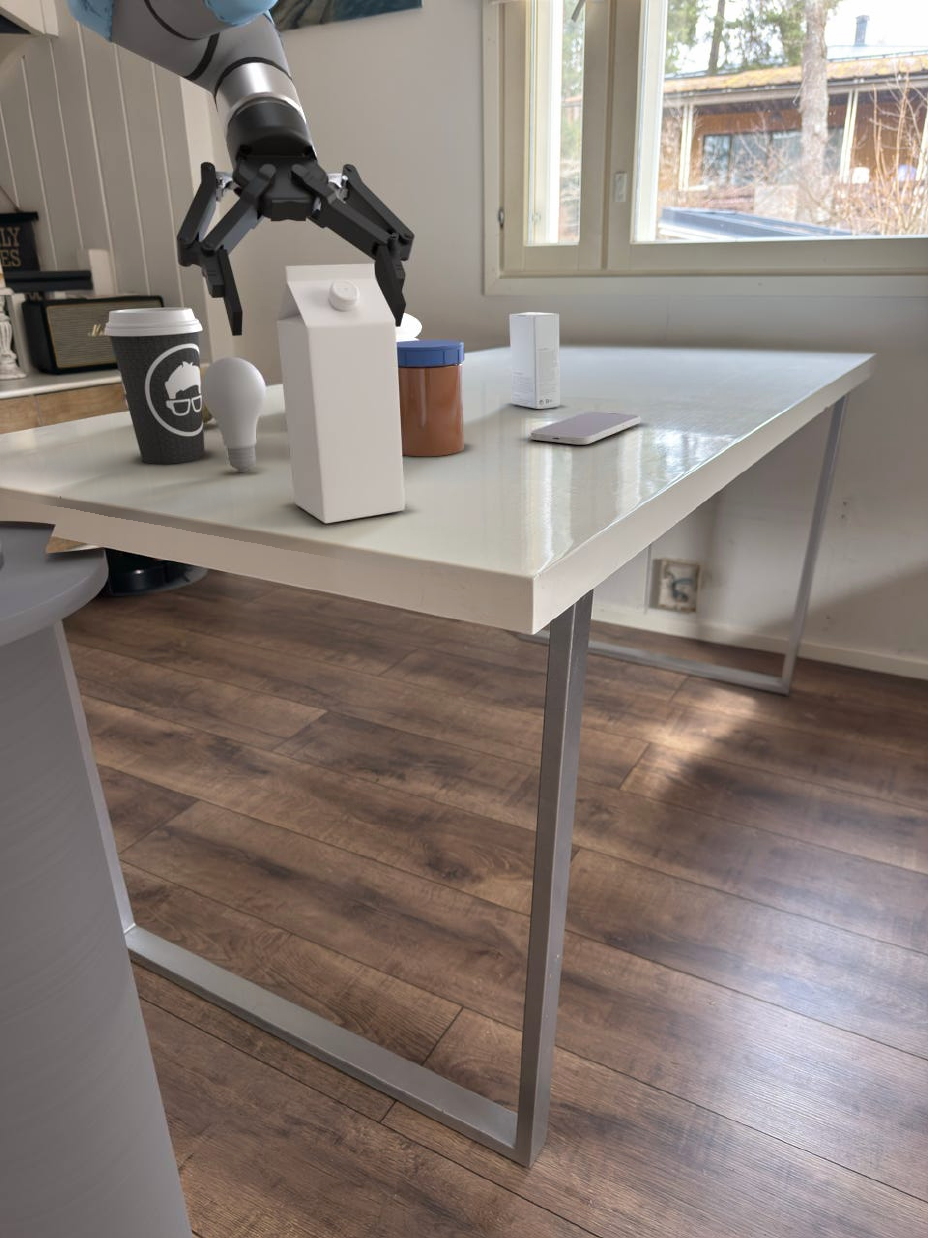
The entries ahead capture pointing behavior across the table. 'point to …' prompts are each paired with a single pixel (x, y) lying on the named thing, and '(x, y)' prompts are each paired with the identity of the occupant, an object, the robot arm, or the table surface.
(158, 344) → the coffee cup
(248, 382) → the lightbulb
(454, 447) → the jar
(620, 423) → the smartphone
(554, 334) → the cosmetic box
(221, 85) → the robot arm
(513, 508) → the table surface
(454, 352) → the jar lid
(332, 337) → the milk carton
